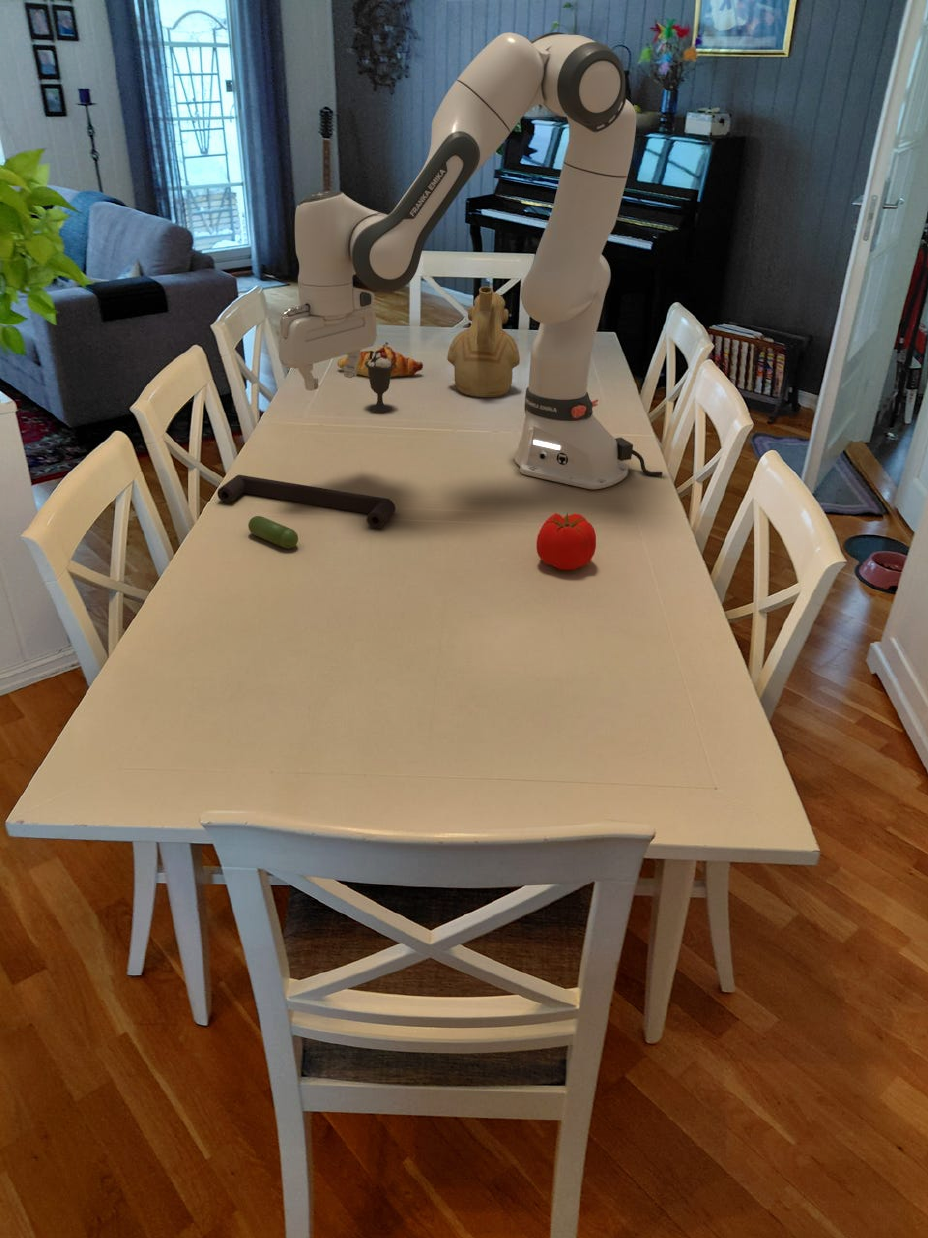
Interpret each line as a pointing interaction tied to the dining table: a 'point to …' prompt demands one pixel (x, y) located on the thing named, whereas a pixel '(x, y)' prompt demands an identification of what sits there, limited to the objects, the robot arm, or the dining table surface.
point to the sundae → (379, 377)
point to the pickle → (273, 532)
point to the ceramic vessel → (484, 349)
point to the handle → (310, 497)
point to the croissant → (402, 364)
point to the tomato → (566, 541)
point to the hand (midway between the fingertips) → (331, 382)
